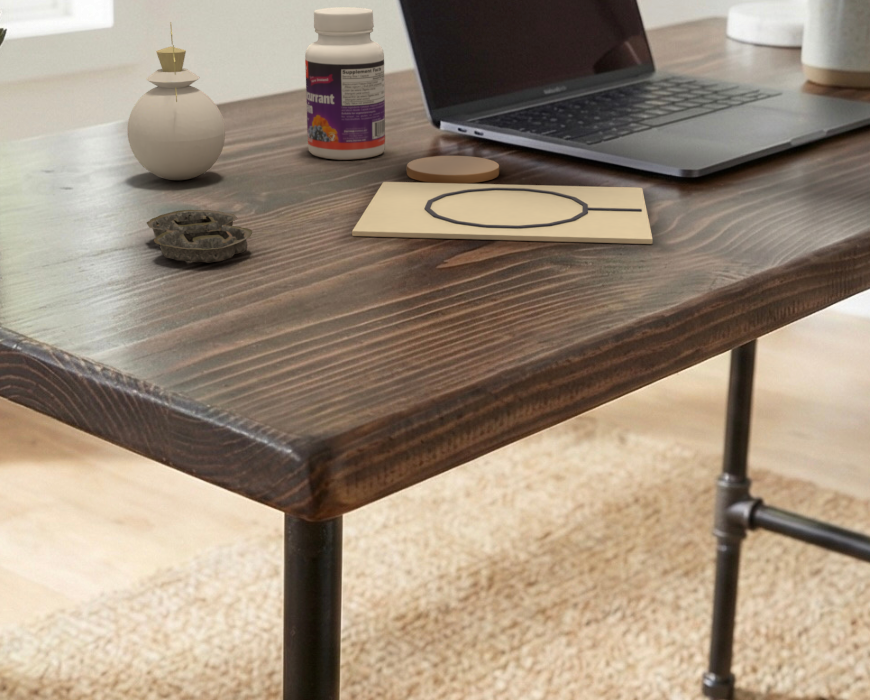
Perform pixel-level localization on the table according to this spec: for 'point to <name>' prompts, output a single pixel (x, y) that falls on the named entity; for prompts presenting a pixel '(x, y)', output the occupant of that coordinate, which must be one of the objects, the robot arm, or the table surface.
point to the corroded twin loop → (199, 235)
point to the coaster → (452, 169)
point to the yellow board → (507, 213)
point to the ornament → (175, 122)
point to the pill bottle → (345, 86)
